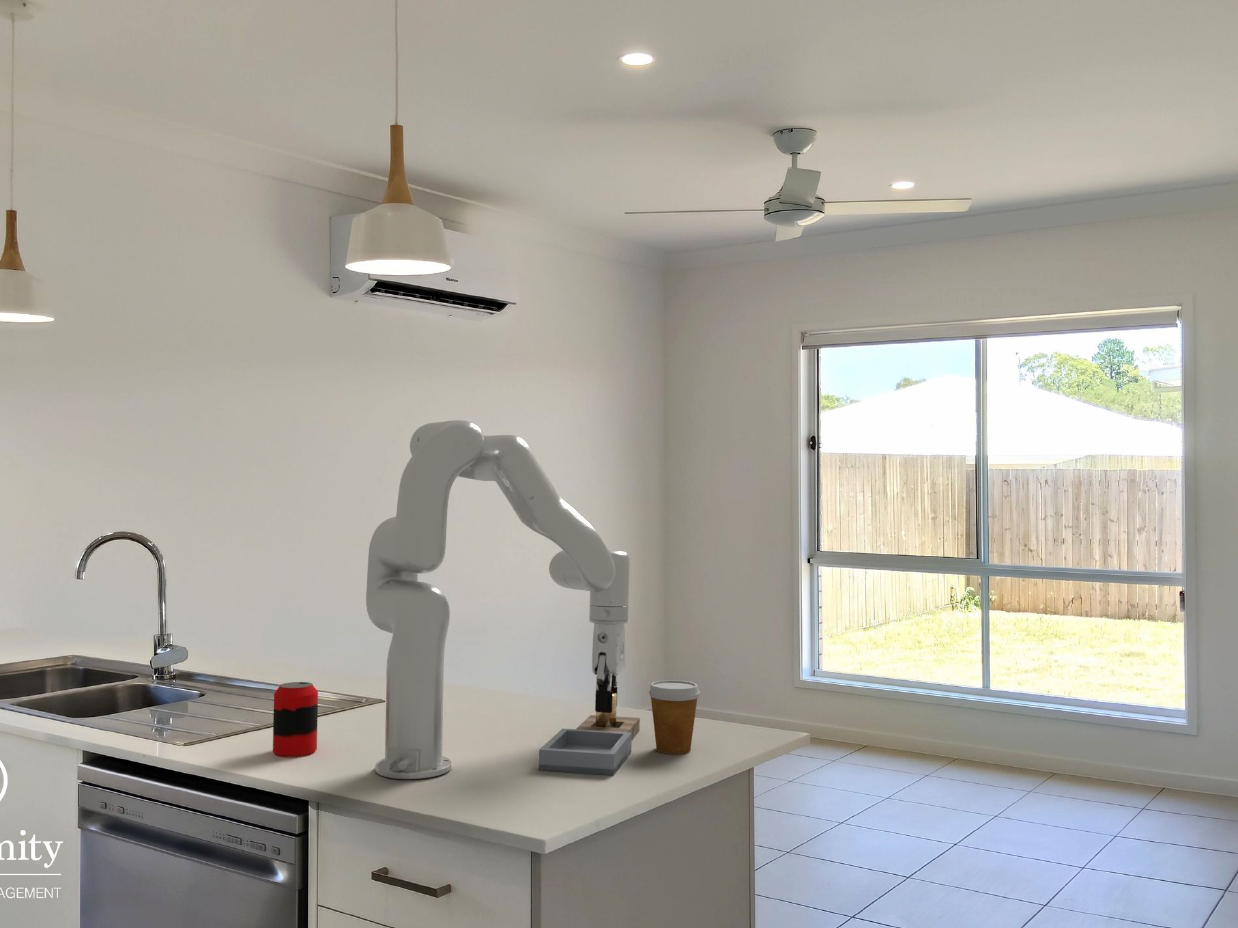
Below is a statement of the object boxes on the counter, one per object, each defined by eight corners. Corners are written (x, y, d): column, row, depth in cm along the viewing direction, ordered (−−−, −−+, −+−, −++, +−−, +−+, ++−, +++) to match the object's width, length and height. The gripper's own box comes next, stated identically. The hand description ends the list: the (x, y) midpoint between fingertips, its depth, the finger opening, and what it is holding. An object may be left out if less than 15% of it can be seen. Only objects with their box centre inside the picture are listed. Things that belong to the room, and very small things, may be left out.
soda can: (325, 749, 189) (327, 683, 189) (298, 759, 182) (299, 690, 182) (291, 745, 192) (293, 679, 192) (263, 754, 185) (264, 686, 185)
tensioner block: (626, 747, 193) (626, 733, 193) (573, 743, 195) (574, 730, 195) (639, 730, 207) (639, 717, 207) (590, 727, 209) (590, 714, 209)
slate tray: (613, 775, 174) (614, 754, 174) (538, 770, 177) (539, 749, 177) (631, 751, 190) (631, 732, 190) (562, 747, 193) (562, 728, 193)
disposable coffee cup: (707, 748, 194) (708, 683, 194) (684, 759, 185) (685, 691, 186) (662, 741, 198) (663, 677, 199) (638, 751, 190) (639, 685, 191)
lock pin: (613, 728, 198) (614, 696, 199) (593, 726, 199) (594, 695, 199) (617, 723, 202) (618, 692, 203) (597, 722, 203) (598, 691, 203)
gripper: (619, 619, 193) (616, 719, 192) (635, 610, 209) (633, 702, 208) (579, 617, 194) (577, 717, 193) (599, 609, 210) (596, 700, 210)
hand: (606, 708), depth 201 cm, fingers closed on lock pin, 4 cm apart
